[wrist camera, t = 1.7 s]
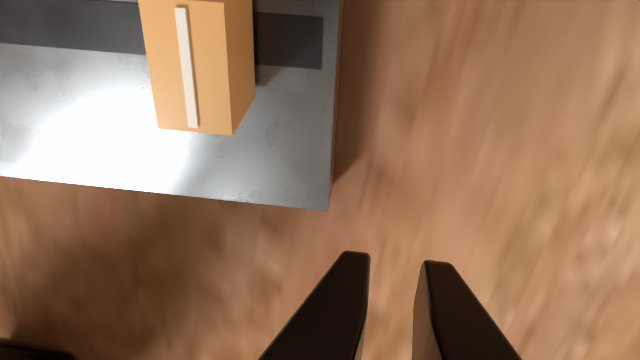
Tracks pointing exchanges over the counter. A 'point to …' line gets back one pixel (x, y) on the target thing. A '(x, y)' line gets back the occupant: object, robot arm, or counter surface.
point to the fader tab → (199, 62)
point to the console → (139, 112)
